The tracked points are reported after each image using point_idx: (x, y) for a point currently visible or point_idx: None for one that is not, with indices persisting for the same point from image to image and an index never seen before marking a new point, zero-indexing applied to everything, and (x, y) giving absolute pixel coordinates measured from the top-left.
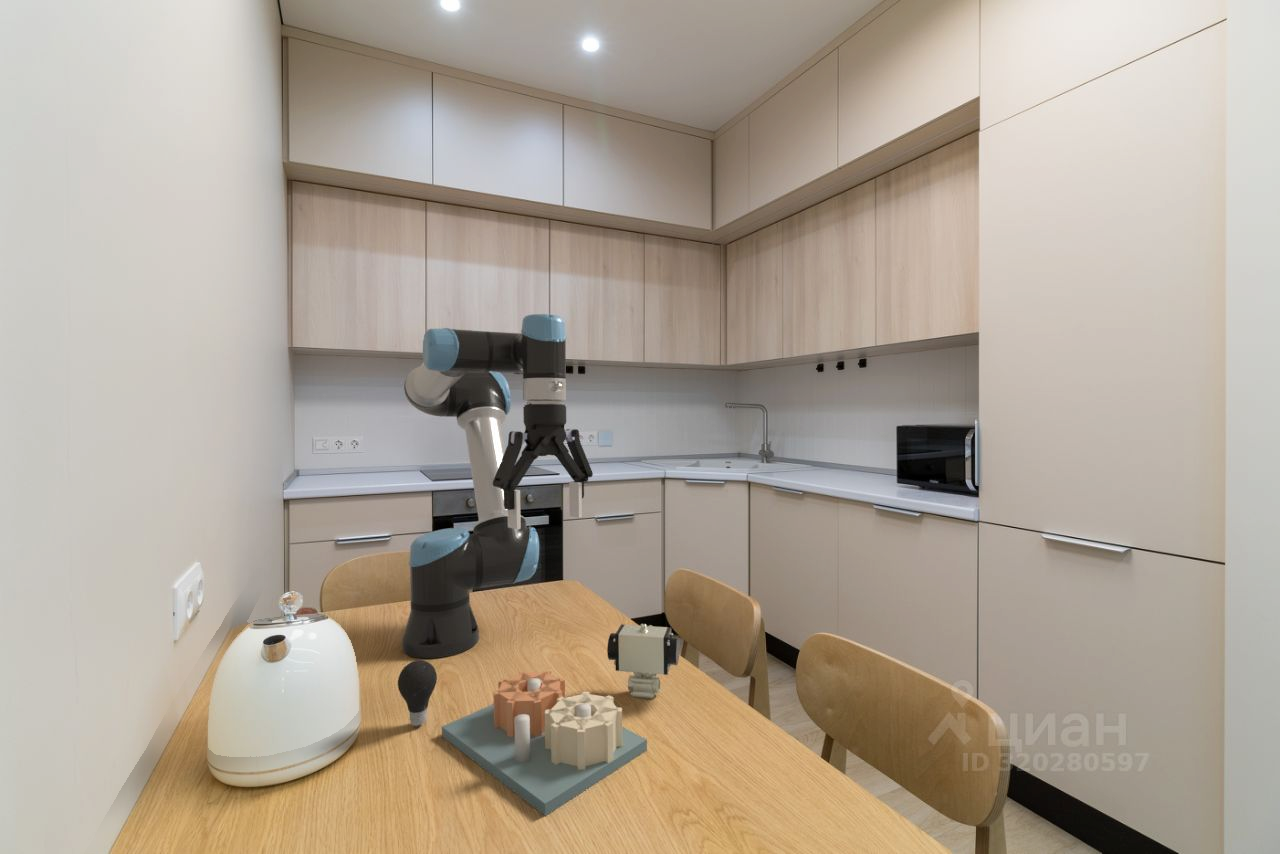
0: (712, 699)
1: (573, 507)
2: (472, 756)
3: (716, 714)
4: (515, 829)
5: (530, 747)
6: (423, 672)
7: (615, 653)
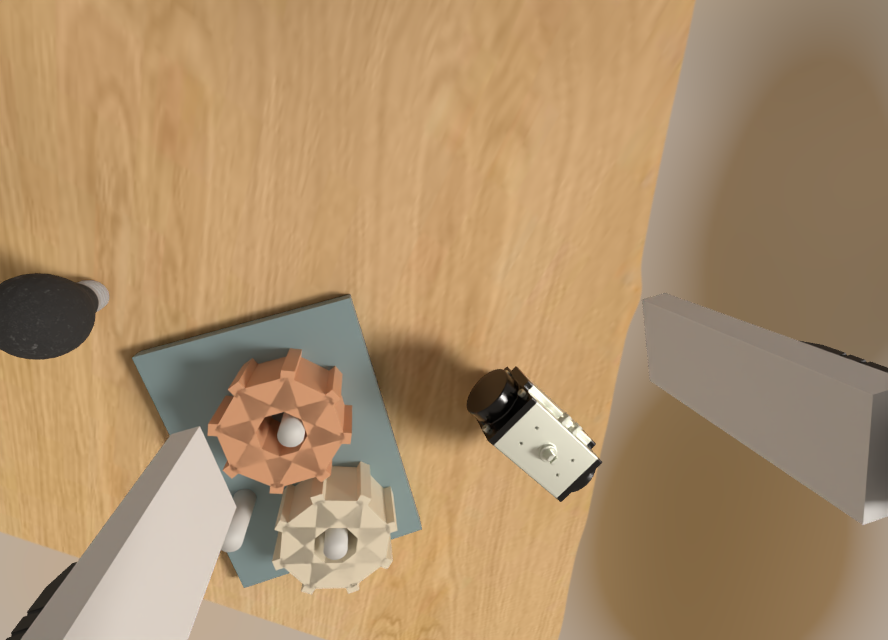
0: None
1: (684, 356)
2: None
3: None
4: None
5: None
6: (37, 355)
7: (477, 420)
